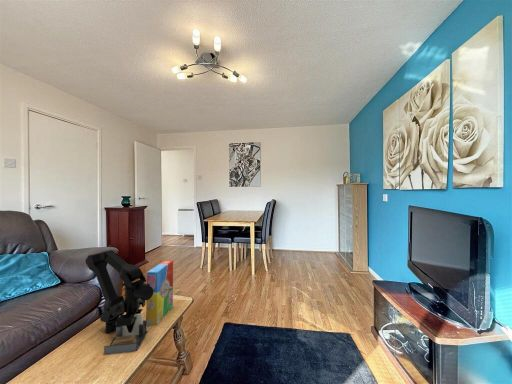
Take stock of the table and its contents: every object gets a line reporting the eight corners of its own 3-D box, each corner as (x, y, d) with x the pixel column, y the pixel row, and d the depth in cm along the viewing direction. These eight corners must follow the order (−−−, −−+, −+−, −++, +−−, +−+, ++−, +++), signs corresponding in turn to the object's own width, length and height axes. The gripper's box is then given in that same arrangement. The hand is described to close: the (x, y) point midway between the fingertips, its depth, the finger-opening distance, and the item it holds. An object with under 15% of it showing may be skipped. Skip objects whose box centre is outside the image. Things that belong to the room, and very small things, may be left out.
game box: (156, 328, 110) (156, 272, 110) (145, 327, 110) (145, 272, 110) (173, 306, 131) (173, 260, 131) (163, 306, 131) (164, 260, 131)
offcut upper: (116, 341, 95) (116, 337, 95) (135, 338, 97) (135, 334, 97) (113, 346, 92) (113, 342, 92) (132, 343, 94) (132, 339, 94)
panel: (121, 334, 103) (121, 314, 103) (142, 332, 105) (142, 313, 105) (120, 336, 102) (120, 316, 102) (141, 334, 103) (141, 314, 103)
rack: (118, 335, 104) (118, 322, 104) (148, 332, 106) (148, 320, 106) (102, 357, 90) (102, 342, 90) (137, 353, 92) (137, 338, 92)
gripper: (121, 288, 111) (121, 320, 111) (102, 307, 93) (101, 345, 93) (145, 287, 113) (145, 318, 113) (131, 305, 95) (130, 342, 94)
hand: (131, 330), depth 103 cm, fingers open, 3 cm apart
